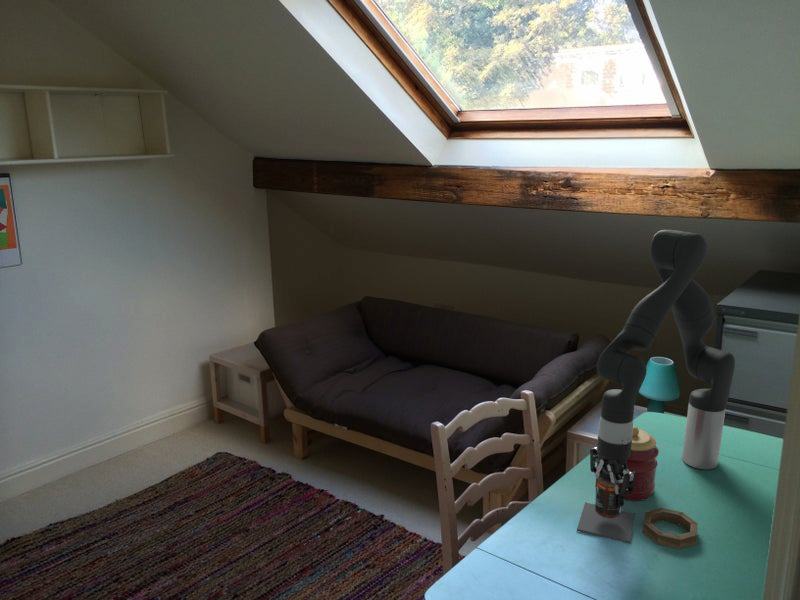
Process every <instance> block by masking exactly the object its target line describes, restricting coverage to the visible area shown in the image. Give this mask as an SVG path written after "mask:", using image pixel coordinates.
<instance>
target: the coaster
mask: <svg viewBox="0 0 800 600" xmlns="http://www.w3.org/2000/svg"><path fill="white" fill-rule="evenodd" d="M635 517H636V513H635V512H630V511H626V510H622V509H621V513H620V515H619V516H618V517H616V518H605V517H602V516H600V515H599V514H598V513H597V512H596V511H595V504H594V503H590V502H586V501H585V502H584V504H583V508H582V512H581V515H580V518H579V521H578V524H577V528H576V532H578V531H580V532H579V533H583V534H587V535H591V534H592V535H593V536H597V537H601V538H604V539H610V540H614V541H617V542H621V543H622V542H623V543H625V544H631V540H632V536H633V530H634V524H635Z"/></svg>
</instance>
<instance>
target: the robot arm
mask: <svg viewBox="0 0 800 600" xmlns="http://www.w3.org/2000/svg"><path fill="white" fill-rule="evenodd" d="M650 242H651V243H650V256H651V261H652V264H653V266H654V268H655V270H656V272H657V275H658V276H659V278H660V280H661V282H662V283H661V284H660V285H659V286H658V287H657V288H656V289H654V290H653V291H651V292H650V293H649V294H647V295H645V297H643V298H642V299H641V300H640V301H639V302H638V303H637V304H636V305H635V306H634V307H633V309H632V310H631V312H630V314H629V316H628V318H627V320H626V322H625V323H624V327H623V328H622V330H621V331H620V332H619V333H618V334H617V336H616V337H614V339H613V340H612V341H611V342H610V343H609V344H608V345H607V347H605V349H603V351H602V352H601V353H600V355H599V357H598V360H597V362H596V363H597V364H596V371H597V374H598V376H599V377H600V378H601V379H604V380H606V381H609V382H613V383H616V384H619V385H622V386H621V387H622V389H618V388H617V389H615V388H614V389H608V390H606V391H605V392H604V393H603V394H602V395H603V396H602V400H601V411H600V418H599V421H598V431H597V443H596V447H591V448H590V449H589V450H590V451H589V455H590V456H589V457H590V458H589V459H590V462H589V463H590V472H591V473H594V477H595V490H596V489H597V479H598V477H599V475H601V474H602V469H603V468H604V469H606V470H607V471H609V473H610V478H611V483H612V484H614V488H615V493H614V503H613V506H614V507H616V508H618V507H621V508H622V507H623V506H624V504H625V500H624V497H625V495H628V494H632V492H633V488H634V484H635V480H636V473H635V472H630V471H629V470H628V469H627V459H628V458H629V456H630V454H631V445H632V435H633V426H634V413H635V404H636V401H637V398H638V395H639V392H640V389H641V388H642V386H643V384H644V381H645V379H646V375H647V365H646V363H645V361H644V360H643V358H642V357H640V356H636V355H633V354H629V353H631V352H632V351H646V350H648V349H650V348H651V346H652V344H653V343H654V341H655V339H656V338H657V335H658V332H659V331H660V329H661V327H662V324H663V323H664V321H665V319H666V317H667V316H668V315H669V312H670V311H672V314H673V317H674V318H673V319H674V321H675V324H676V326H677V328H678V332H679V336H680V339H681V343H682V347H683V353H684V355H683V356H684V360H685V361H684V362H685V366H686V369H687V372H688V374H689V375H690V376H691V377H693V378H694V379H697V380H700V381H702V382H706V383H709V384H711V385H710V388H699V389H698V388H697V389H694V390H693V391H691V392H690V395H689V399H688V406H687V417H686V422H685V423H686V424H685V429H684V432H685V433H684V441H683V447H682V452H681V453H682V454H681V460H682V462H684V463H685V464H686V465H688V466H690V467H692V468H695V469H699V470H712V469H713V470H714V469H715V468H717V467H718V463H719V460H720V459H719V458H720V451H721V444H722V437H723V430H724V423H725V416H726V415H725V414H726V410H727V409H726V408H727V403H728V399H729V396H730V392H731V387H732V382H733V377H734V372H735V369H736V368H735V365H736V362H735V361H736V360H735V357H734V354H732V353H731V352H729V351H725V350H722V349H718V348H715V347H711V346H709V345H706V343H705V342H704V338H705V336H706V335H707V334H708V333H709V332H710V330H711V329H712V328H713V326H714V324H715V323H714V322H715V313H714V308H713V305H712V302H711V299H710V296H709V295H708V293H707V292H706V290H705V289H704V288H703V287H702V286H701V285H700V284H699V283H698V282H697V281H696V280H694V277H695V275H696V274H697V273H698V272H699V270H700V268H701V267H702V265H703V263H704V260H705V258H706V255H707V241H706V239H705V237H704V236H703V235H701V234H700V233H695V232H689V231H683V230H675V229H661V230H659V231H657V232H656V233H654V235H653V237H652V239H651V241H650ZM620 476H621V478H620V479H617V480H616V477H620ZM619 483H621V488H619ZM627 488H628V489H627Z"/></svg>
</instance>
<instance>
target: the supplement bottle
mask: <svg viewBox="0 0 800 600" xmlns="http://www.w3.org/2000/svg"><path fill="white" fill-rule="evenodd" d="M620 478H621V477H616V480H617V479H620ZM619 488H621V483H619ZM595 492H596V493H595V502H594V503H595V511H596V512H597V513H598V514H599V515H600V516H602V517H605V518H616V517H618V516H619V515H620V513H621V510H622V506H621V507H618V508H616V507H614V506H613V503H614V493H615V488H614V484H612V483H611V478H610V473H609V471H607V470H606V469H604V468H603V469H602V474H601V475H599V477H598V479H597V489H596V488H595Z"/></svg>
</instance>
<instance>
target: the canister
mask: <svg viewBox="0 0 800 600" xmlns="http://www.w3.org/2000/svg"><path fill="white" fill-rule="evenodd" d="M659 450H660V449H659V448H658V446H657V441H656V439H655V437H653V436H652V435H651V434H650V433H648V432H647V431H645V430H644V429H640V428H638V426H635V425H633V435H632V445H631V454H630V456H629V458H628V459H627V469H628V470H629V471H630V472H635V473H636V480H635V484H634V488H633V492H632V494H628V495H625V497H624V501H632V502H635V501H636V502H637V501H638V502H639V501H644V500H647V499H650V497H652V496H653V494H654V491H655V489H656V488H655V486H656V482H655V480H656V473H657V472H656V471H657V467H658V460H657V457H658V456H659V452H660V451H659ZM620 477H621V476H620ZM627 489H628V488H627Z"/></svg>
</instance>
